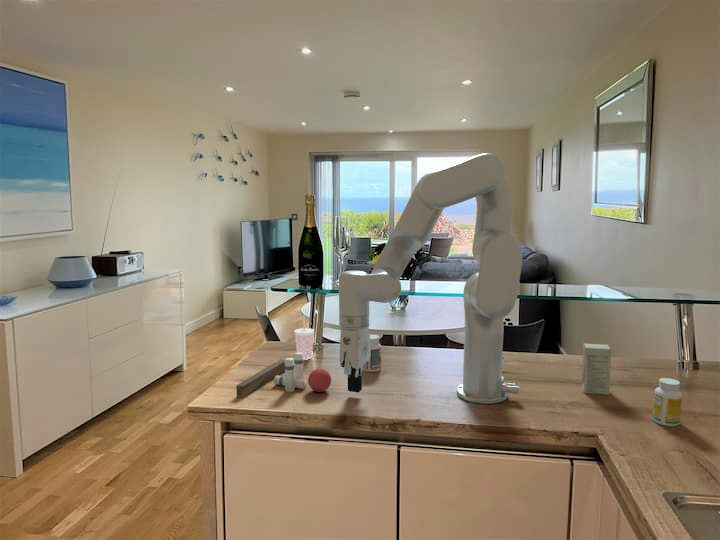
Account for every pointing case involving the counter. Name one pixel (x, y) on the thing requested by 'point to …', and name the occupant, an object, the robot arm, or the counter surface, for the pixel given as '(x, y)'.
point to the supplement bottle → (667, 402)
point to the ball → (319, 380)
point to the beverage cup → (304, 341)
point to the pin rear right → (298, 365)
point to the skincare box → (596, 368)
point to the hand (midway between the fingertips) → (354, 390)
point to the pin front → (298, 382)
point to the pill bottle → (374, 355)
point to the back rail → (260, 378)
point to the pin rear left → (289, 375)
